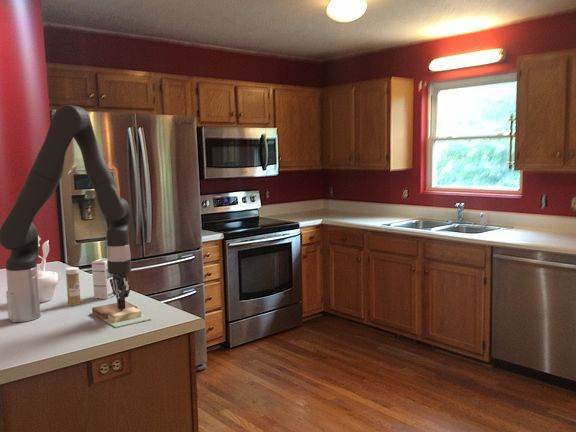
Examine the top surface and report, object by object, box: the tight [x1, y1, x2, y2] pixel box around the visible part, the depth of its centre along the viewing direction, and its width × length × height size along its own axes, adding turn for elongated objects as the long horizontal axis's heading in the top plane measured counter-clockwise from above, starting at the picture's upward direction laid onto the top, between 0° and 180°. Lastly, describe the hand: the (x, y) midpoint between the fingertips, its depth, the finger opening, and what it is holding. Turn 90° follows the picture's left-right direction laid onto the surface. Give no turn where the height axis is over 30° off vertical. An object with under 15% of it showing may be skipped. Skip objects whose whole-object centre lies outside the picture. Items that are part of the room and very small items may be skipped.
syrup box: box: [91, 257, 115, 300], centre depth 202 cm, size 6×6×14 cm
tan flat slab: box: [91, 300, 138, 321], centre depth 182 cm, size 12×10×2 cm
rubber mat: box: [103, 313, 152, 329], centre depth 174 cm, size 12×10×1 cm
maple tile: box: [108, 307, 142, 322], centre depth 176 cm, size 9×6×2 cm, turn 130°
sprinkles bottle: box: [65, 266, 82, 306], centre depth 193 cm, size 5×5×14 cm
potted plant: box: [37, 234, 59, 303], centre depth 197 cm, size 13×12×25 cm
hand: (121, 308), depth 177 cm, fingers closed
